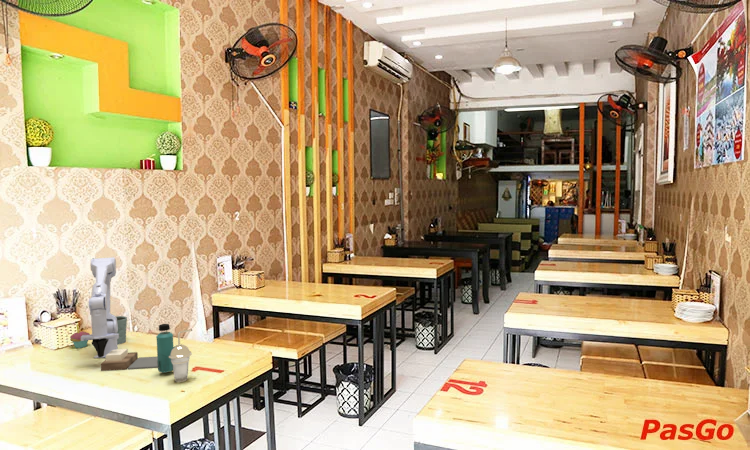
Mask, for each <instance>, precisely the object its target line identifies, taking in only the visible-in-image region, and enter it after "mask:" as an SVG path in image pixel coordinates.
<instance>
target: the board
mask: <svg viewBox="0 0 750 450" xmlns="http://www.w3.org/2000/svg"><path fill="white" fill-rule="evenodd" d="M138 356H139V355H138V352H137V351H133V352H128V355H127V356H126V357H125V358H123V359H122V360H121V361H106V359H105V360H103V361H102V362H100V372H104V371H105V372H107V371H125V370H126V371H127V370H129V369H128V367H129V366H130V365H131V364H133V363H134V362H135V361H136V360H137V359H138V358H139V357H138Z"/></svg>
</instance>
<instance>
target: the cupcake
mask: <svg viewBox="0 0 750 450" xmlns="http://www.w3.org/2000/svg"><path fill="white" fill-rule="evenodd" d="M82 335H91V333H89V332H87V331H84V330H83V331H80V328H79V324H78V323H76V332H74V333H73V334H71V335H70V337H69V338H70V339H69V340H70V342H71V343H72V344H73V346H74V347H75V349H81V348H86V347H87V345H88V342H89V340H84V341H81V336H82Z"/></svg>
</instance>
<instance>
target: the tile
mask: <svg viewBox="0 0 750 450" xmlns="http://www.w3.org/2000/svg"><path fill="white" fill-rule="evenodd" d="M128 353H129V351H128V348H120V349H119V348H118V349H117V350H112V351H111V352H109V353H108V354H107V355H106V357H105V360H106V361H121V360H122V359H123V358H125V357H126V356H127V355H128Z"/></svg>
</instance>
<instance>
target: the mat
mask: <svg viewBox="0 0 750 450" xmlns="http://www.w3.org/2000/svg"><path fill="white" fill-rule="evenodd" d="M157 360H158V357H157V356H142V357H141V356H140V357H138V359H137V360H136V361H135V362H134V363H133V364H131V365H130V366H129V367H128V369H127V370H139V369H141V370H142V369H144V370H145V369H158V365H157V364H158V362H157Z"/></svg>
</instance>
